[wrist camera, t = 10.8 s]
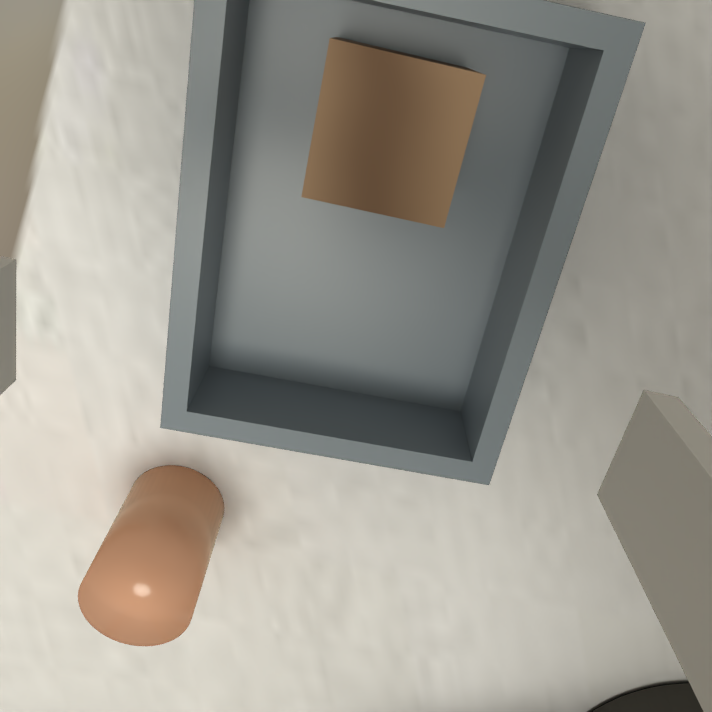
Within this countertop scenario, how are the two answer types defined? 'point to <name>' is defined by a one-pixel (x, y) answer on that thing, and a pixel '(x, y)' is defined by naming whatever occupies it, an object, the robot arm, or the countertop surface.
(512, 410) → the slate tote
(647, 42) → the countertop surface
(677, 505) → the robot arm
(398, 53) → the walnut cube
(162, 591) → the terracotta cylinder
